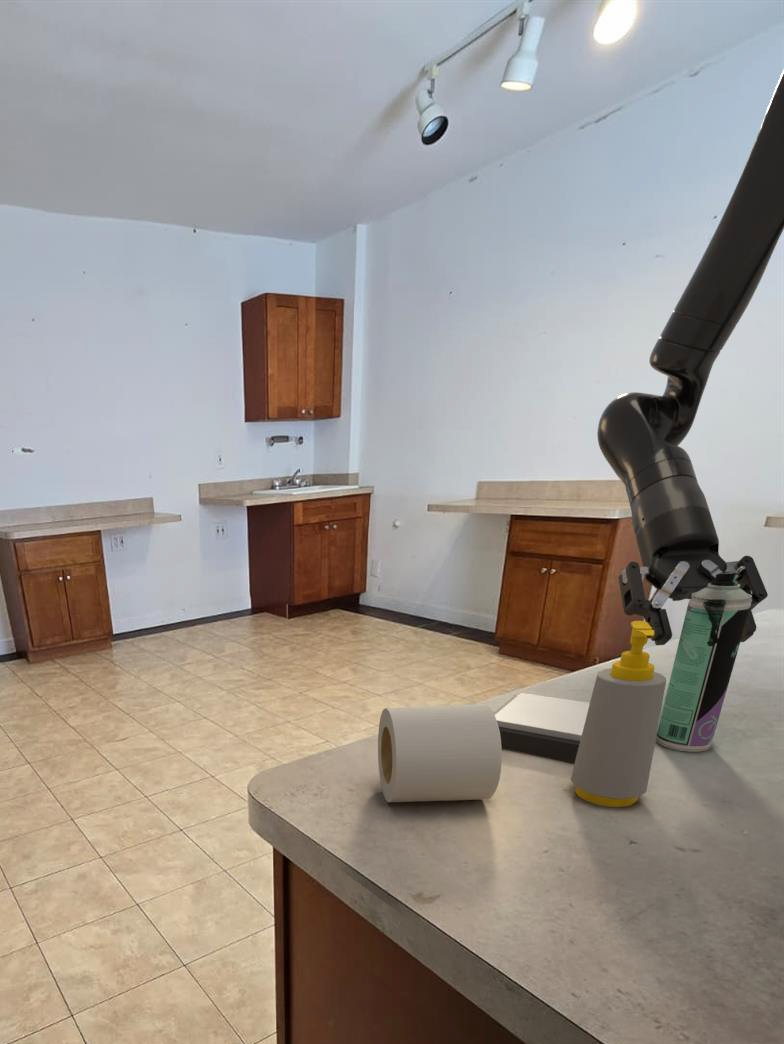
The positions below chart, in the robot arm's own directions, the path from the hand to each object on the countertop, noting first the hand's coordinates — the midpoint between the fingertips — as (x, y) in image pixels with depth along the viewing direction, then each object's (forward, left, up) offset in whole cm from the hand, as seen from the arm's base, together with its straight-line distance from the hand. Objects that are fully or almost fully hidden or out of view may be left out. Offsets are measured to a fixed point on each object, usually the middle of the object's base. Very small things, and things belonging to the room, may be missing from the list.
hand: (704, 640), depth 73 cm
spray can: (-1, +1, -12) cm, 12 cm away
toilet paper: (+18, +30, -12) cm, 37 cm away
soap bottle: (+4, +20, -12) cm, 24 cm away
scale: (+12, +7, -12) cm, 18 cm away
